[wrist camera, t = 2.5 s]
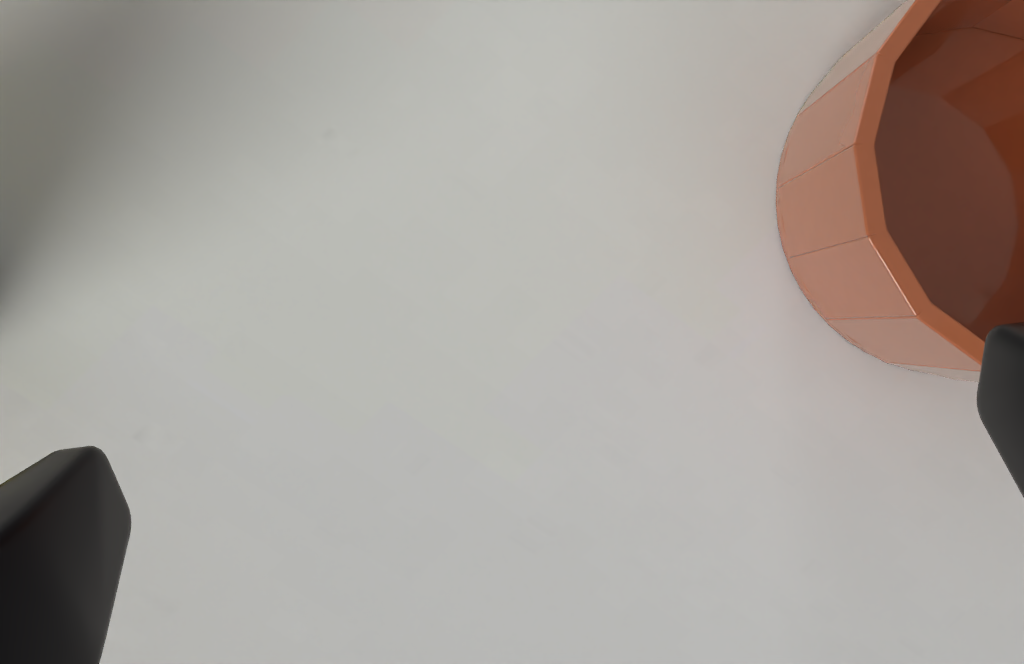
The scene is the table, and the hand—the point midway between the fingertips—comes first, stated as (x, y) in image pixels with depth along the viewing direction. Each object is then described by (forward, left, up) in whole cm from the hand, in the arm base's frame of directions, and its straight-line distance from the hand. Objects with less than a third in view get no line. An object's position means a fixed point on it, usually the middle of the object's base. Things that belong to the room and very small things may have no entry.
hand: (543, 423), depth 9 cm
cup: (+10, -6, -13) cm, 17 cm away
